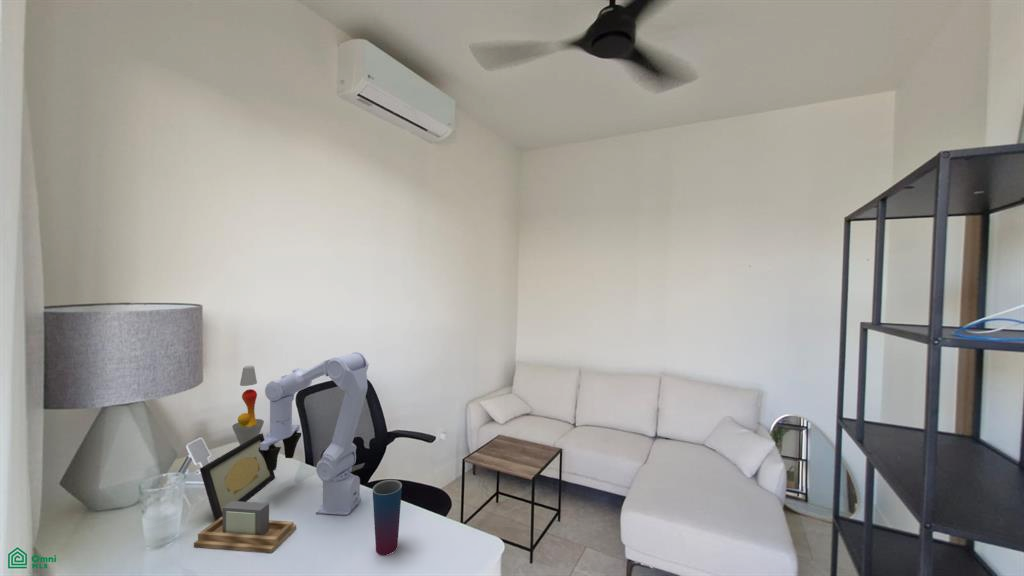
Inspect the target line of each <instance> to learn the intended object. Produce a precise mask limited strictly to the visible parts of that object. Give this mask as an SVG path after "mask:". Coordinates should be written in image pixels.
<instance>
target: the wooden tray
mask: <svg viewBox="0 0 1024 576" xmlns="http://www.w3.org/2000/svg"><path fill="white" fill-rule="evenodd" d="M294 523H295V522H294V521H288V520H287V521H286V520H276V519H275V520H272V519H269V531H268V532H267V533H266V534H265V535H263V536H261V535H247V534H234V533H222V526H223V517H221V518H219V519H218V520H216V521H215V520H214V522H212V523H211V524H209V525H208V526H207V527H205V528H204V529H203V530H201V531H200V532H198V533H197V540H196V541H195V542H193V548H203V549H214V550H227V551H228V550H229V551H238V552H239V551H240V552H252V553H253V552H254V553H266V554H272V553H273V552H275V550H277V548H278V547H280V546H281V544H283V542H285V541H286V540H287V539H288V537H290V536H291V535H292V534H293V533H294V531H296V530H297V524H294Z"/></svg>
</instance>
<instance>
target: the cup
mask: <svg viewBox="0 0 1024 576" xmlns="http://www.w3.org/2000/svg"><path fill="white" fill-rule="evenodd" d="M402 488H403V484H402V482H401V481H399V480H398V479H397V480H396V479H387V480H386V479H385V480H382V481H379V482H378V483H376V484H374V486H373V487H372V502H373V503H372V505H373V522H374V538H375V542H374V543H375V551H376V554H377V555H380V556H388V555H387V554H389V555H391V554H393V553H394V552H395V551H397V549H398V547H397V546H399V545H398V544H399V533H400V531H399V530H400V517H401V503H402V491H403V490H402ZM396 548H397V549H396ZM392 552H393V553H392ZM390 553H391V554H390Z"/></svg>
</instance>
